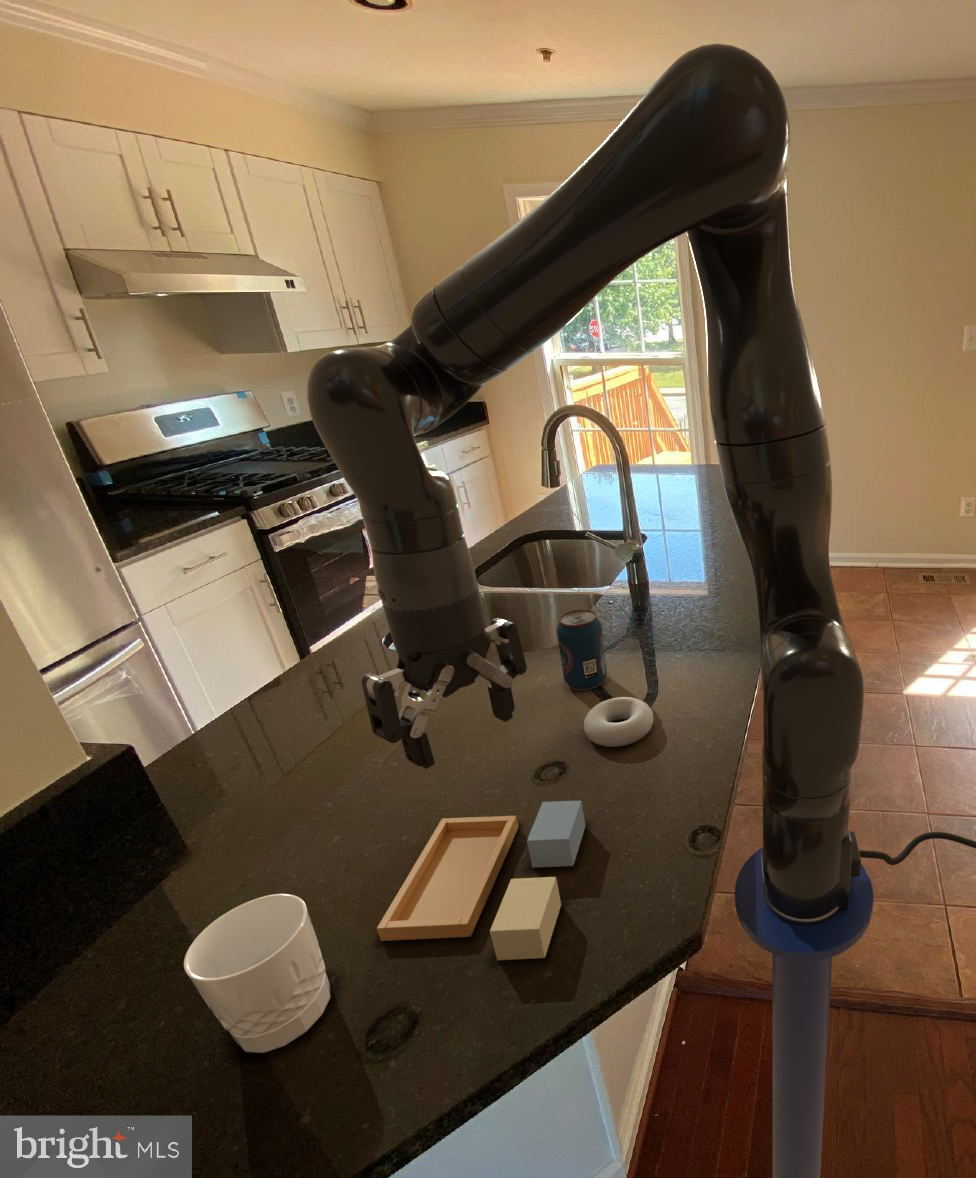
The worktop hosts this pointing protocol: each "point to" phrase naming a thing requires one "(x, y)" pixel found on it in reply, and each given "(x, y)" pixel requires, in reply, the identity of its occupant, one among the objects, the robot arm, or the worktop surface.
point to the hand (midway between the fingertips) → (466, 739)
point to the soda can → (581, 649)
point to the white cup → (261, 971)
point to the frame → (450, 880)
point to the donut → (622, 732)
